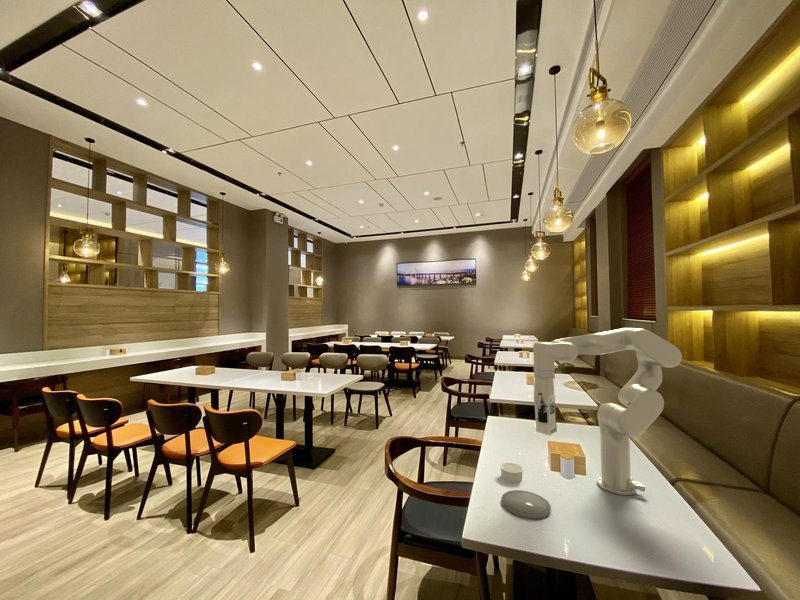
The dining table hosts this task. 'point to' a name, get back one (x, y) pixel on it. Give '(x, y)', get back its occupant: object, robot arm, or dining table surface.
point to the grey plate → (526, 504)
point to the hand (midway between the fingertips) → (545, 419)
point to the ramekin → (511, 472)
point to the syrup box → (551, 418)
